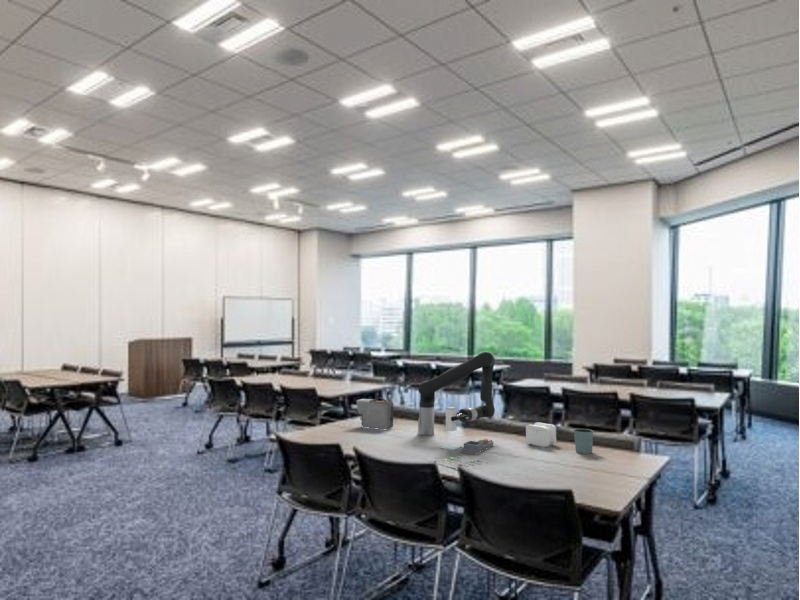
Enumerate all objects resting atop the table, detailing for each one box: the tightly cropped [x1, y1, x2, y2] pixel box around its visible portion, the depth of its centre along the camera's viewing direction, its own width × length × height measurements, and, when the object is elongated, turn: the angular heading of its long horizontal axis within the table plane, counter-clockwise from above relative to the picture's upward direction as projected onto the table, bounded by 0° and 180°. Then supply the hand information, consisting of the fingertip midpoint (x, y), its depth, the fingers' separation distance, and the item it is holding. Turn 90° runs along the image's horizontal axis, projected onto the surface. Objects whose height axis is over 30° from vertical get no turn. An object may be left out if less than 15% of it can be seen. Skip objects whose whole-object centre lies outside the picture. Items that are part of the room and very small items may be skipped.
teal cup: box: [573, 428, 594, 455], centre depth 298 cm, size 10×10×12 cm
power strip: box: [461, 438, 494, 455], centre depth 307 cm, size 8×30×4 cm, turn 147°
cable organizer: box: [525, 421, 557, 448], centre depth 315 cm, size 15×11×12 cm
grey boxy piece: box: [356, 384, 394, 430], centre depth 364 cm, size 12×24×30 cm, turn 67°
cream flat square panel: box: [445, 455, 485, 467], centre depth 279 cm, size 30×30×2 cm
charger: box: [445, 406, 458, 432], centre depth 308 cm, size 4×4×13 cm
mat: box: [439, 443, 463, 451], centre depth 307 cm, size 9×9×1 cm
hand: (447, 418), depth 306 cm, fingers closed on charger, 5 cm apart
